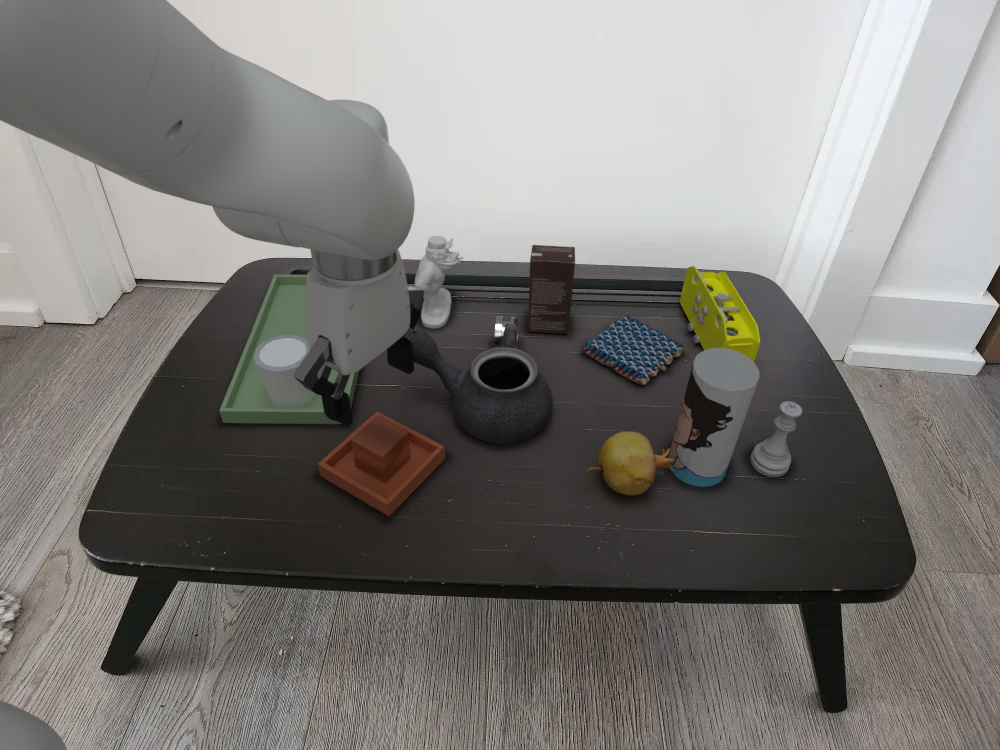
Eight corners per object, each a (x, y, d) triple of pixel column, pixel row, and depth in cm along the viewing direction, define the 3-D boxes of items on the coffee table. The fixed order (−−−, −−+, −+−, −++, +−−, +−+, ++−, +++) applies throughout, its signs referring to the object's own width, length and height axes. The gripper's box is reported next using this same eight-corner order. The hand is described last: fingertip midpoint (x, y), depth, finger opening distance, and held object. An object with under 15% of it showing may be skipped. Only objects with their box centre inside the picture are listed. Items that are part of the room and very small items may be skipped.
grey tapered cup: (309, 416, 89) (299, 373, 84) (255, 409, 89) (243, 366, 85) (327, 379, 94) (320, 337, 89) (277, 373, 94) (266, 330, 90)
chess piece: (789, 456, 86) (816, 395, 79) (786, 482, 83) (813, 421, 76) (752, 445, 87) (775, 384, 81) (747, 471, 84) (770, 410, 78)
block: (385, 484, 81) (382, 457, 78) (355, 466, 83) (350, 439, 80) (410, 459, 84) (408, 432, 81) (381, 442, 86) (377, 416, 83)
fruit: (593, 479, 75) (687, 472, 76) (583, 422, 79) (672, 415, 80) (585, 506, 81) (672, 499, 82) (576, 451, 85) (659, 445, 86)
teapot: (556, 370, 97) (562, 310, 90) (548, 455, 85) (554, 394, 79) (417, 357, 98) (413, 297, 92) (392, 439, 87) (384, 377, 80)
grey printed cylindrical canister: (707, 438, 88) (737, 343, 78) (737, 479, 83) (772, 383, 73) (657, 450, 86) (681, 354, 76) (685, 492, 82) (714, 396, 72)
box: (568, 316, 106) (576, 245, 98) (568, 335, 102) (576, 263, 94) (527, 313, 106) (531, 242, 98) (525, 333, 103) (529, 260, 95)
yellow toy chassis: (675, 306, 108) (686, 258, 103) (712, 304, 109) (724, 257, 103) (710, 377, 96) (724, 328, 91) (751, 374, 97) (768, 325, 91)
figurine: (458, 329, 103) (457, 257, 95) (413, 327, 103) (407, 255, 95) (464, 292, 110) (463, 222, 102) (421, 290, 110) (416, 220, 102)
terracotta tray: (389, 516, 78) (387, 504, 77) (319, 475, 82) (317, 463, 81) (445, 458, 85) (444, 446, 83) (378, 423, 89) (377, 410, 87)
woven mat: (686, 354, 100) (689, 342, 99) (641, 391, 94) (643, 379, 93) (624, 321, 105) (626, 310, 104) (579, 354, 99) (580, 343, 98)
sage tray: (347, 424, 88) (345, 412, 87) (223, 423, 88) (218, 410, 87) (376, 287, 110) (375, 275, 109) (276, 285, 110) (274, 274, 109)
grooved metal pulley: (496, 336, 102) (497, 308, 98) (517, 338, 102) (519, 309, 98) (493, 359, 98) (494, 330, 95) (515, 361, 98) (516, 332, 95)
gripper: (385, 200, 71) (396, 338, 82) (249, 279, 60) (283, 426, 71) (446, 222, 68) (449, 362, 79) (315, 309, 57) (340, 458, 68)
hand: (371, 392), depth 75 cm, fingers open, 9 cm apart
